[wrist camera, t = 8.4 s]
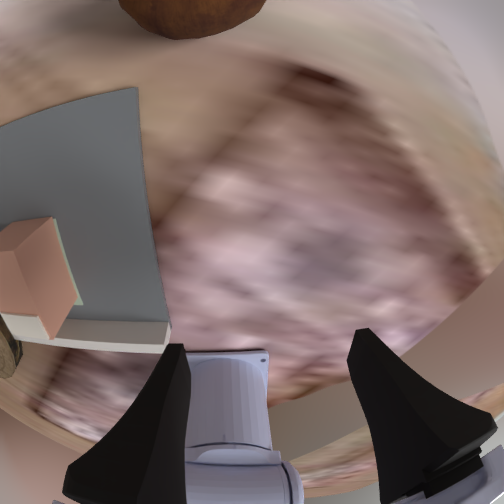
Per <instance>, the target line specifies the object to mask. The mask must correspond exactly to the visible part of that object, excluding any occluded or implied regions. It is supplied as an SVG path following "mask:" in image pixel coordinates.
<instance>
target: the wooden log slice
mask: <svg viewBox="0 0 504 504" xmlns="http://www.w3.org/2000/svg"><path fill="white" fill-rule="evenodd" d="M22 355H23V351H22V343H21V340H16V339H14V337H13V336H12V334H11V332H10V330H9V329H8V327H7V325H6V323H5V321H4V320H3V318H2V316H1V314H0V378H4V379H5V378H9V377H12V375H13V373H14V371H15V369H16V367H17V365H18V363H19V362H20V359H21V357H22Z"/></svg>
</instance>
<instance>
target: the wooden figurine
mask: <svg viewBox="0 0 504 504" xmlns="http://www.w3.org/2000/svg"><path fill="white" fill-rule="evenodd" d="M118 1H119V3H120V6H121V8H122V9H123V10H125V11H126V12H127V13H128V14H129V15H130V16H131V17H132V18H133V19H135V20H136V21H137V22H138V24H139V25H140V26H141V27H143V28H144V29H146V30H148V31H149V32H152V33H155V34H158V35H161V36H164V37H166V38H169V39H173V40H180V39H192V38H202V37H206V36H211V35H215V34H218V33H221V32H223V31H226V30H229V29H232V28H234V27H236V26H237V25H239V24H241V23H243V22H245V21H246V20H248V19H250V18H252V17H254V16H255V15H256V14H257V13H258V12H259V11H260V10H261V8H262V6H263V5H264V3H265V2H266V0H118Z"/></svg>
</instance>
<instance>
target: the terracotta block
mask: <svg viewBox="0 0 504 504" xmlns="http://www.w3.org/2000/svg"><path fill="white" fill-rule="evenodd" d="M77 298H78V296H77V293H76V291H75V288H74V286H73V283H72V280H71V277H70V274H69V272H68V269H67V266H66V263H65V260H64V256H63V253H62V250H61V247H60V243H59V240H58V237H57V233H56V229H55V226H54V222H53V218H52V217H44V218H37V219H30V220H23V221H17V222H12V223H11V224H9V225H8V226H7V227H6V228H4V229H3V230H2V231H1V232H0V312H1V314H2V316H3V318H4V320H5V322H6V324H7V325H8V327H9V329H10V331H11V332H12V334H13V335H19V336H25V337H32V338H39V339H47V340H54V338H55V336H56V335H57V333H58V331H59V329H60V327H61V325H62V324H63V322H64V320H65V318H66V317H67V315H68V313H69V311H70V310H71V308H72V306H73V305H74V303H75V301H76V300H77Z"/></svg>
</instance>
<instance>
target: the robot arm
mask: <svg viewBox="0 0 504 504" xmlns="http://www.w3.org/2000/svg"><path fill="white" fill-rule="evenodd" d="M268 362H269V354H268V352H267V351H265V350H261V351H243V352H215V353H185V349H184V346H183V344H168V345H167V346H166V348H165V350H164V352H163V354H162V356H161V358H160V360H159V361H158V363H157V365H156V367H155V369H154V371H153V372H152V374H151V376H150V377H149V379H148V381H147V382H146V384H145V386H144V387H143V389H142V390H141V392H140V393H139V395H138V396H137V398H136V399H135V401H134V402H133V403H132V405H131V406H130V407H129V409H128V410H127V411H126V413H125V414H124V415H123V416H122V418H121V419H120V420H119V421H118V422H117V423H116V424H115V426H114V427H113V428H112V429H111V430H110V431H109V432H108V433H107V434H106V435H105V436H104V437H103V438H102V439H101V440H100V441H99V442H98V443H96V444H95V445H94V446H93V447H92V448H91V449H90V450H89V451H87V452H86V453H85V454H84V455H82V456H81V457H80V458H79V459H77V460H76V461H74V462H73V463H71V464H70V465H69V466H68V469H67V471H66V475H65V480H64V484H63V490H62V493H63V494H64V495H65V496H66V497H68V498H70V499H72V500H74V501H76V502H78V503H80V504H304V491H303V485H302V481H301V478H300V475H299V473H298V471H297V470H296V469H295V468H294V467H293V466H292V465H291V464H290V463H289V462H288V461H281V457H280V451H273V449H272V442H271V434H270V426H269V418H268V410H267V403H266V397H267V380H268ZM347 364H348V368H349V372H350V376H351V380H352V383H353V385H354V388H355V391H356V393H357V396H358V398H359V401H360V403H361V406H362V409H363V411H364V414H365V417H366V419H367V422H368V425H369V429H370V433H371V437H372V442H373V446H374V451H375V457H376V463H377V470H378V478H379V490H380V502H381V504H392V503H393V504H491V503H492V502H493V501H495V500H496V499H497V498H498V497H500V496H501V495H502V494H503V493H504V449H503V447H502V445H499V446H498V447H496V448H495V449H494V450H492V451H491V452H489V453H487V454H486V455H485V456H483V457H482V458H480V456H479V454H480V453H481V452H482V450H481V448H480V446H481V445H482V444H483V443H484V442H485V441H486V440H488V439H489V438H490V437H491V436H492V435H493V434H494V433H495V432H496V431H497V428H498V427H497V425H496V423H495V421H494V419H493V417H492V415H491V414H490V413H488V412H485V411H482V410H480V409H477V408H474V407H472V406H469V405H467V404H465V403H463V402H461V401H459V400H457V399H455V398H453V397H451V396H449V395H448V394H446V393H444V392H443V391H441V390H439V389H438V388H436V387H435V386H433V385H432V384H431V383H429V382H428V381H426V380H425V379H424V378H422V377H421V376H420V375H419V374H417V373H416V372H415V371H414V370H413V369H411V368H410V367H409V366H408V365H407V364H405V363H404V362H403V361H402V360H401V359H400V358H399V357H398V356H397V355H396V354H395V353H394V352H393V351H392V350H391V349H389V348H388V347H387V346H386V345H385V344H384V343H383V342H382V341H381V340H380V339H379V338H378V337H377V336H376V335H375V334H374V333H373V332H372V331H371V330H370V329H369V328H365V329H358V330H356V331H355V335H354V338H353V341H352V345H351V348H350V351H349V355H348V358H347ZM405 498H406V499H405ZM400 500H401V501H400ZM52 504H64V503H61V502H59V501H56V500H53V503H52Z"/></svg>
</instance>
